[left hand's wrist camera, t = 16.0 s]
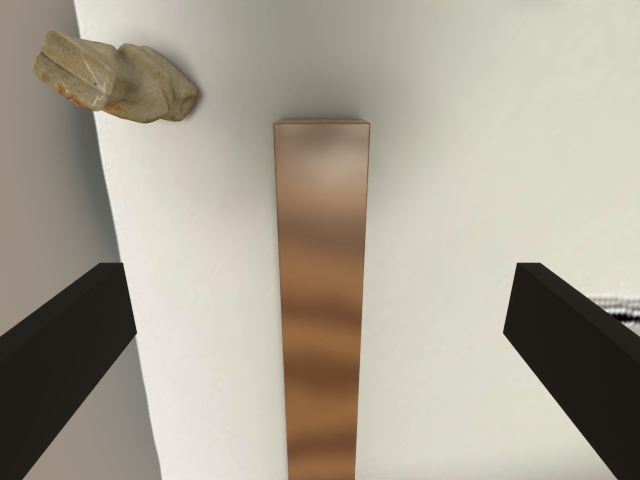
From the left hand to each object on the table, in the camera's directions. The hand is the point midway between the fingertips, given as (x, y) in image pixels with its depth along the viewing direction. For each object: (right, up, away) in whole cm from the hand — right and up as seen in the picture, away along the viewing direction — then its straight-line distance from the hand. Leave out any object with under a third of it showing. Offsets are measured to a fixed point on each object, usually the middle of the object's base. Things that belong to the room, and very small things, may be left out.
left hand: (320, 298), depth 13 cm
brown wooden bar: (0, -20, +40) cm, 45 cm away
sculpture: (-16, +18, +26) cm, 35 cm away
